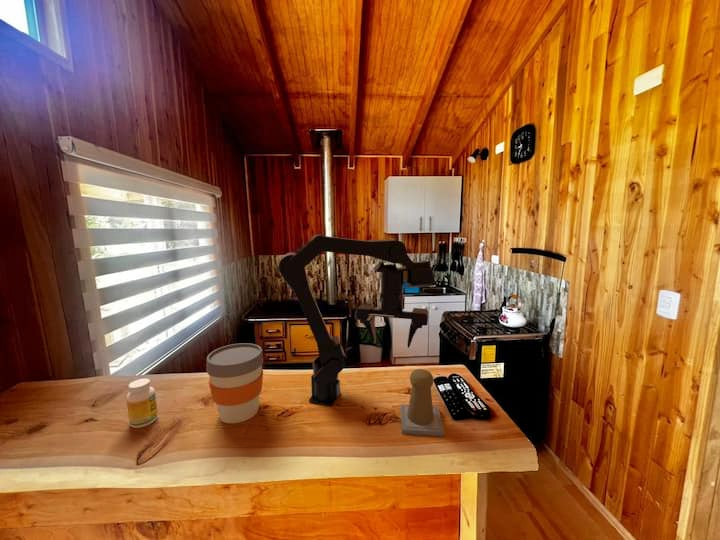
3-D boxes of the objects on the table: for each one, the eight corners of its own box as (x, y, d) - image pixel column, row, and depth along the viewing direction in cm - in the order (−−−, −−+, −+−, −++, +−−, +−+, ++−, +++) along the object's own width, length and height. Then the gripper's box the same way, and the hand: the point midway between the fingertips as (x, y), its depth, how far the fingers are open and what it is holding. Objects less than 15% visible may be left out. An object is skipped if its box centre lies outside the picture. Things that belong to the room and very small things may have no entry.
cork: (430, 428, 65) (432, 381, 63) (403, 420, 67) (404, 375, 66) (436, 412, 70) (438, 368, 68) (411, 405, 73) (412, 363, 71)
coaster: (402, 433, 65) (402, 429, 65) (400, 408, 74) (400, 404, 74) (444, 436, 64) (444, 431, 64) (437, 410, 73) (437, 406, 73)
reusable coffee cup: (276, 410, 73) (273, 352, 71) (224, 437, 64) (218, 372, 62) (251, 390, 82) (247, 338, 79) (202, 412, 72) (196, 354, 70)
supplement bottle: (133, 417, 71) (127, 379, 69) (159, 411, 73) (155, 374, 71) (127, 431, 66) (121, 391, 64) (156, 424, 68) (151, 385, 67)
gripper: (430, 283, 82) (428, 337, 85) (365, 280, 87) (365, 331, 90) (428, 292, 72) (426, 354, 74) (354, 288, 77) (354, 346, 79)
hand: (391, 345), depth 80 cm, fingers open, 9 cm apart
